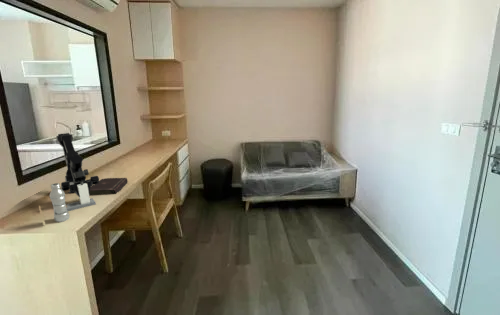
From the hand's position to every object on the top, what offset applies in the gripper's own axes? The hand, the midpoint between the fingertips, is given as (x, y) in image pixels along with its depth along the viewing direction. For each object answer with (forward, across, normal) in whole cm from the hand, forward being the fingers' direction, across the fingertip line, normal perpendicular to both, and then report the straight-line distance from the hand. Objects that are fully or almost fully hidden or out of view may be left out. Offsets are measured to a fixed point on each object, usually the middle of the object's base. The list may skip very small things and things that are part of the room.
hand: (84, 195), depth 156 cm
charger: (+3, 0, +5) cm, 6 cm away
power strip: (+4, -4, +6) cm, 8 cm away
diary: (-11, +17, +22) cm, 30 cm away
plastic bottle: (+14, -13, -4) cm, 19 cm away
